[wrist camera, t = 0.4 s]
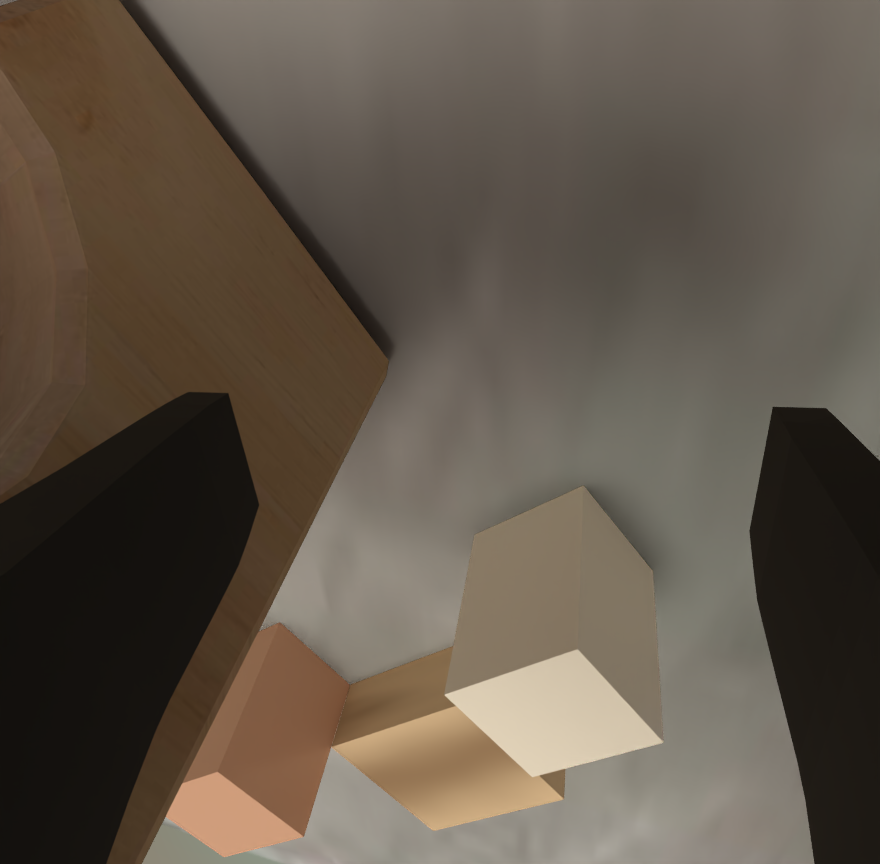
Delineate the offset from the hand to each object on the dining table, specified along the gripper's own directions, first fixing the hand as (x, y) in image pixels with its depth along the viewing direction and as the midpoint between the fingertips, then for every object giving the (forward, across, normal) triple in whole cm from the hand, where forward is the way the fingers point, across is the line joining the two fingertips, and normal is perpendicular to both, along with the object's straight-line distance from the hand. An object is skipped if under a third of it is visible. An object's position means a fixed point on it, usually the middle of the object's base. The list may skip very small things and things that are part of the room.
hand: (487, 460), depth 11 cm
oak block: (+10, +3, +20) cm, 23 cm away
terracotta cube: (+10, +10, +18) cm, 23 cm away
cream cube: (+10, -1, +11) cm, 15 cm away
